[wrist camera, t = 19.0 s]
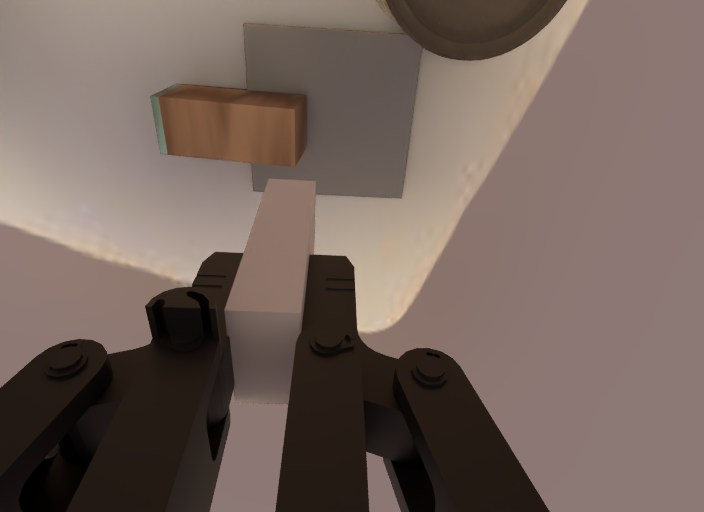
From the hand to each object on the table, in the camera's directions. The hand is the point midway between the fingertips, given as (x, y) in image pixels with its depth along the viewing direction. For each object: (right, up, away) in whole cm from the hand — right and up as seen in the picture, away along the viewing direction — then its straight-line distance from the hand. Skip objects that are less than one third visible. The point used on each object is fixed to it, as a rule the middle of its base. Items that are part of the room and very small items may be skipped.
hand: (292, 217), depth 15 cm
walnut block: (-2, +9, +21) cm, 23 cm away
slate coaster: (0, +11, +24) cm, 27 cm away
